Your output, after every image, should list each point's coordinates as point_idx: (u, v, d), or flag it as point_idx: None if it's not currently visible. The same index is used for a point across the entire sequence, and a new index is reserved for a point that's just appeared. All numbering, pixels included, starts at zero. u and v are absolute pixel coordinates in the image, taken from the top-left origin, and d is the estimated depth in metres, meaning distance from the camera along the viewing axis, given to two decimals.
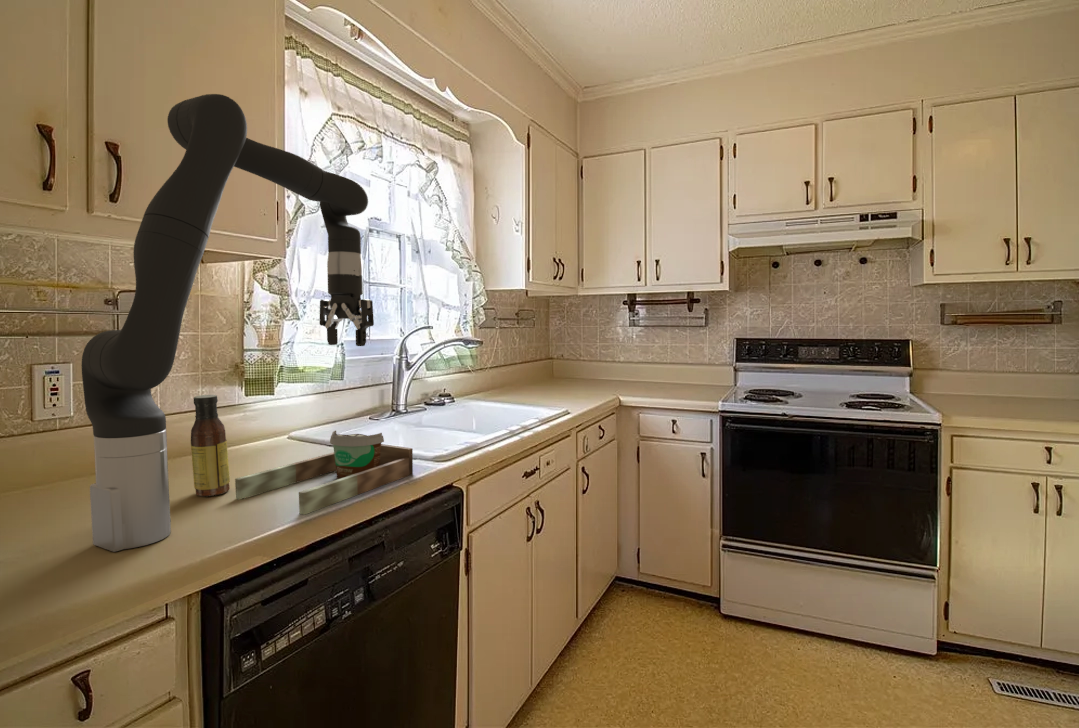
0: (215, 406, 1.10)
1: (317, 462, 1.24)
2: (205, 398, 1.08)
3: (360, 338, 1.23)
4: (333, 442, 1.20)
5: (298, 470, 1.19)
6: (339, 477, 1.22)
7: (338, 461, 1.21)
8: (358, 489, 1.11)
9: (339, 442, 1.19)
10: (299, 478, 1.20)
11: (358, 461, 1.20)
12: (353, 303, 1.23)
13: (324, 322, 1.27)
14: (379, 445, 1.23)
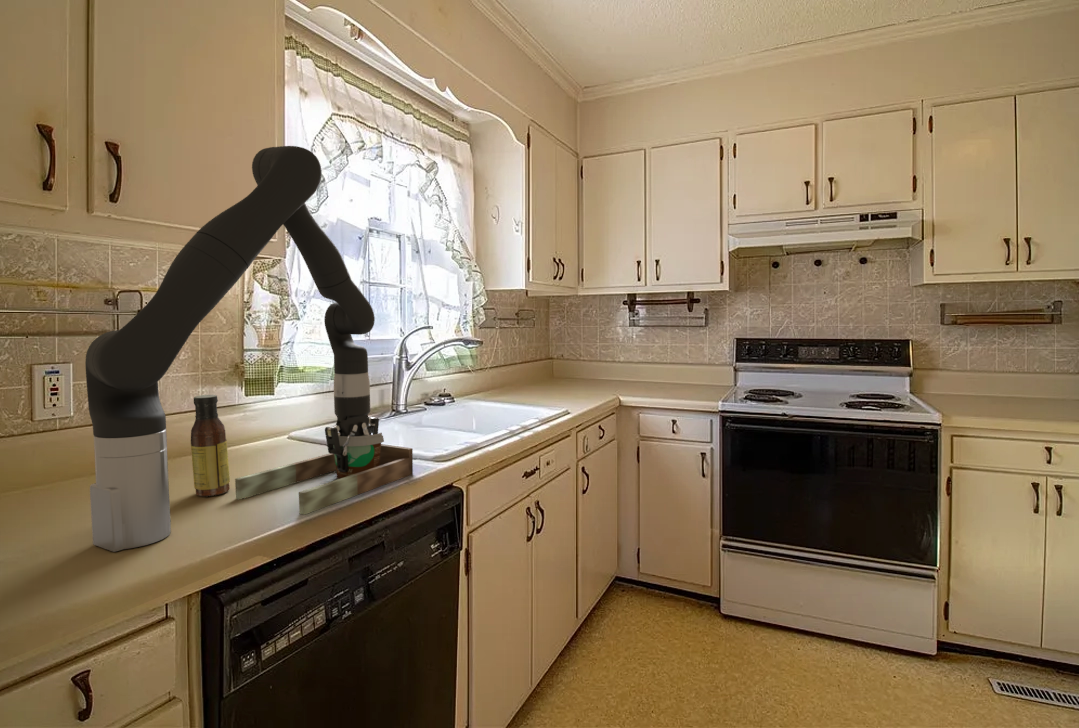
0: (215, 406, 1.09)
1: (317, 462, 1.24)
2: (205, 398, 1.08)
3: None
4: None
5: (298, 470, 1.19)
6: (339, 477, 1.22)
7: None
8: (358, 489, 1.11)
9: (339, 442, 1.19)
10: (299, 478, 1.20)
11: (358, 460, 1.20)
12: (367, 421, 1.24)
13: None
14: (379, 445, 1.23)
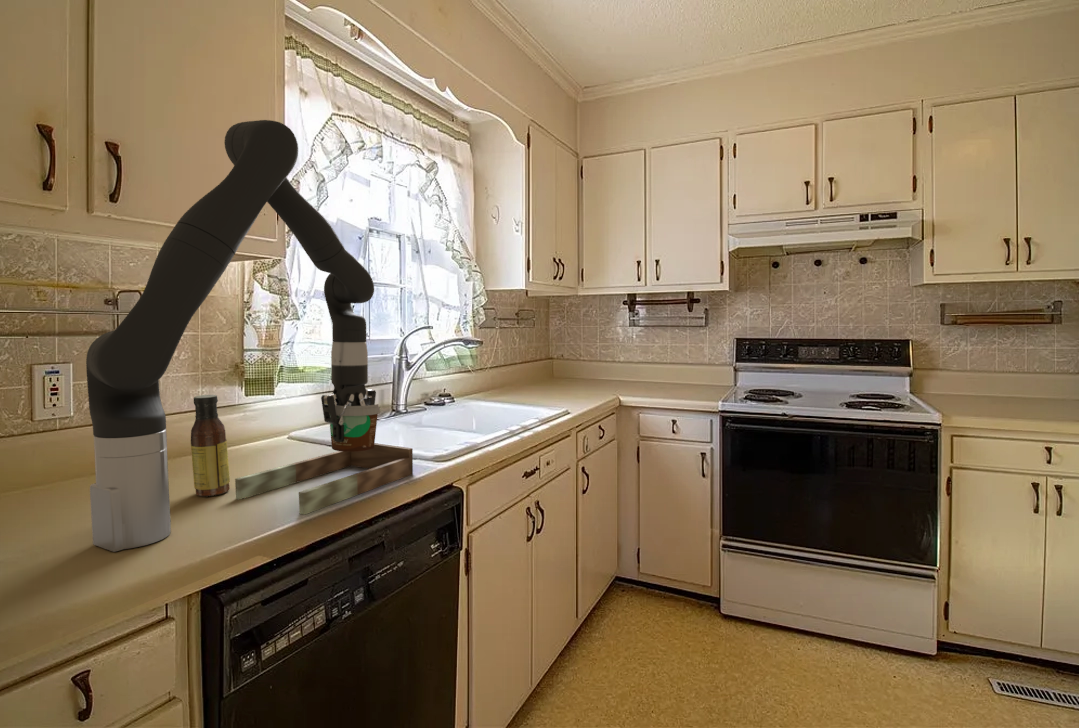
0: (215, 406, 1.09)
1: (317, 462, 1.24)
2: (205, 398, 1.08)
3: None
4: None
5: (298, 470, 1.19)
6: (334, 448, 1.20)
7: None
8: (358, 489, 1.11)
9: None
10: (299, 478, 1.20)
11: (353, 431, 1.19)
12: (364, 392, 1.23)
13: None
14: (375, 416, 1.22)
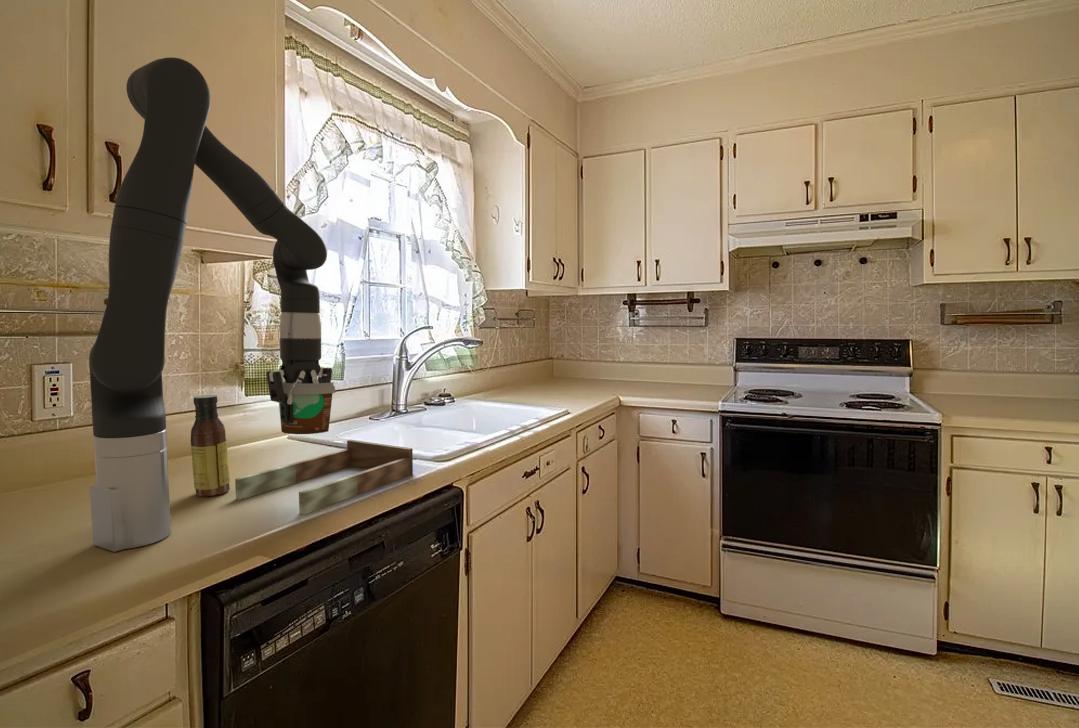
0: (215, 406, 1.10)
1: (317, 462, 1.24)
2: (205, 398, 1.08)
3: None
4: None
5: (298, 470, 1.19)
6: (283, 430, 1.08)
7: None
8: (358, 489, 1.11)
9: (283, 389, 1.06)
10: (299, 478, 1.20)
11: (304, 411, 1.07)
12: (318, 369, 1.12)
13: None
14: (330, 396, 1.10)
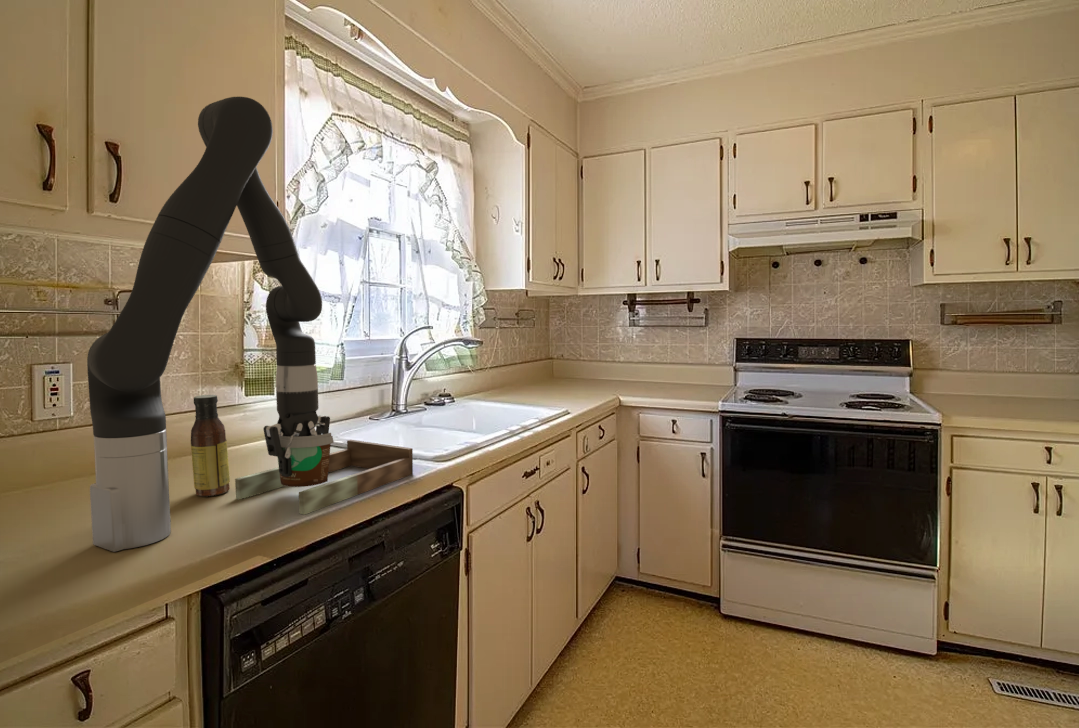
0: (215, 406, 1.09)
1: None
2: (205, 398, 1.08)
3: None
4: None
5: None
6: (282, 482, 1.08)
7: None
8: (358, 489, 1.11)
9: (281, 443, 1.06)
10: None
11: (302, 464, 1.07)
12: (316, 419, 1.11)
13: None
14: (328, 447, 1.10)
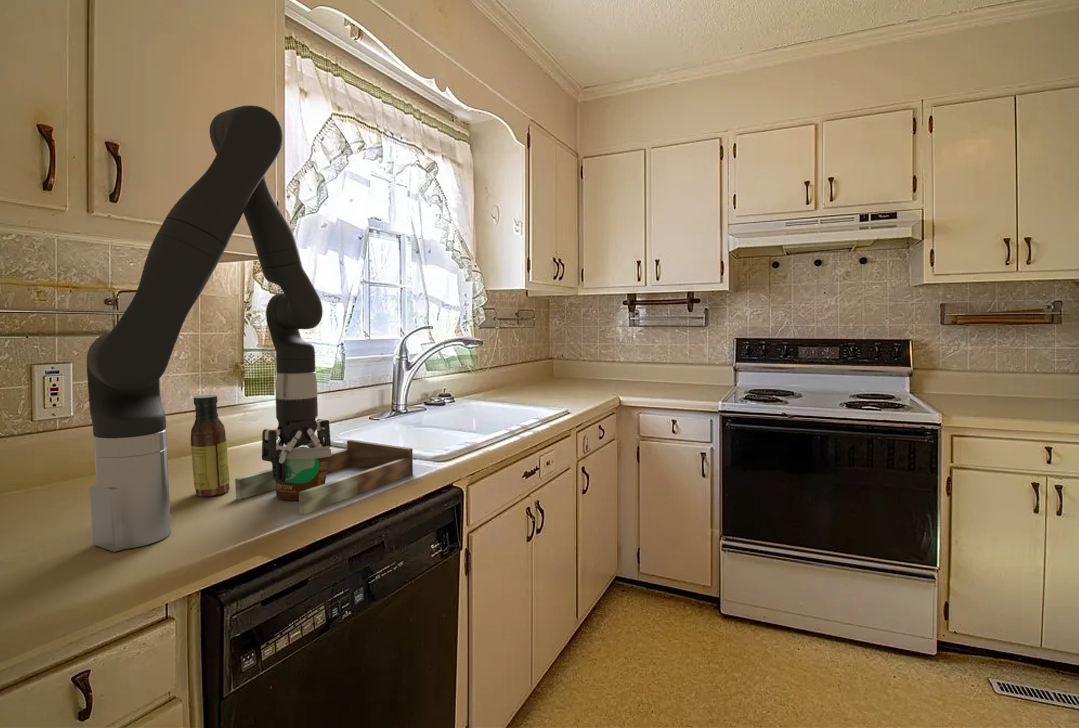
0: (215, 406, 1.09)
1: None
2: (205, 398, 1.08)
3: None
4: None
5: None
6: (278, 495, 1.08)
7: None
8: (358, 489, 1.11)
9: (279, 454, 1.06)
10: None
11: (299, 476, 1.06)
12: (315, 426, 1.11)
13: None
14: (325, 460, 1.10)
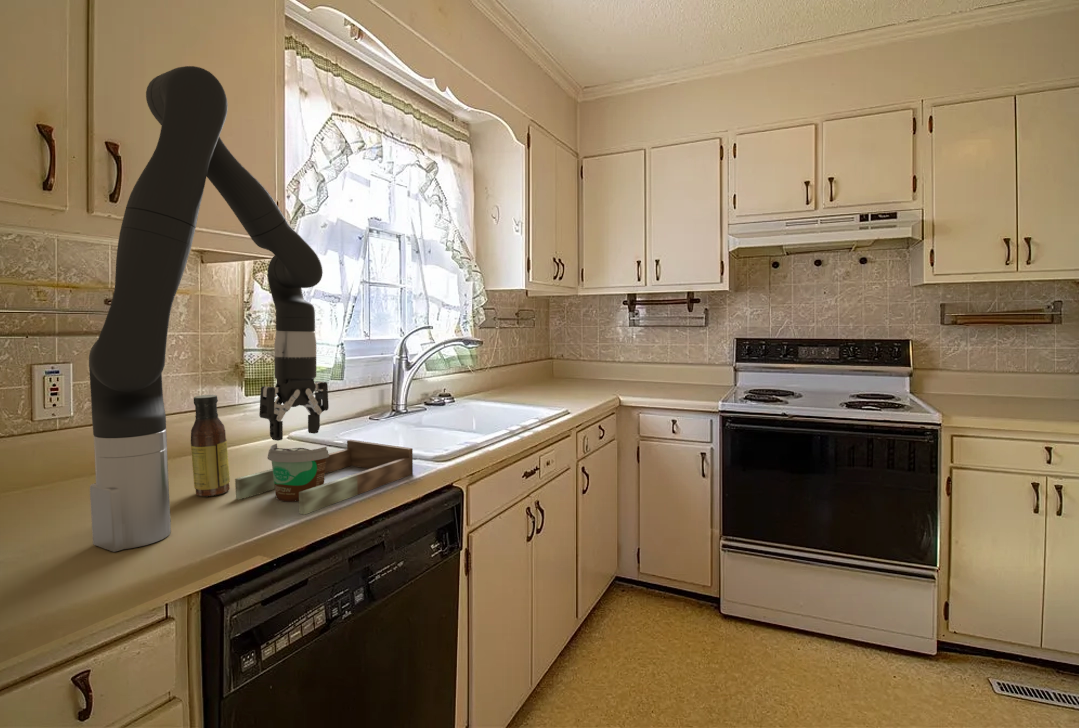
0: (215, 406, 1.09)
1: None
2: (205, 398, 1.08)
3: (318, 424, 1.13)
4: (270, 457, 1.06)
5: None
6: (277, 497, 1.08)
7: (275, 479, 1.07)
8: (358, 489, 1.11)
9: (276, 457, 1.05)
10: None
11: (297, 478, 1.06)
12: (313, 387, 1.11)
13: None
14: (323, 461, 1.09)
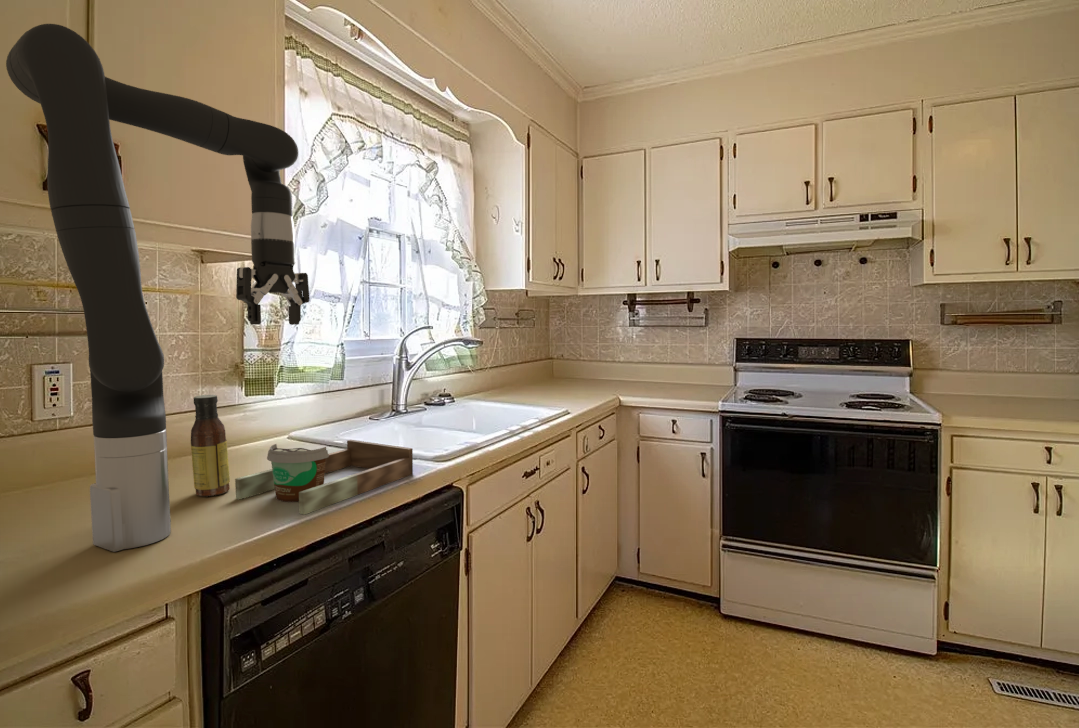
0: (215, 406, 1.10)
1: None
2: (205, 398, 1.08)
3: (299, 315, 1.11)
4: (269, 458, 1.06)
5: None
6: (277, 497, 1.08)
7: (275, 479, 1.07)
8: (358, 489, 1.11)
9: (275, 458, 1.05)
10: None
11: (297, 479, 1.06)
12: (293, 276, 1.08)
13: None
14: (323, 461, 1.09)
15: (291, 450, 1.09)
